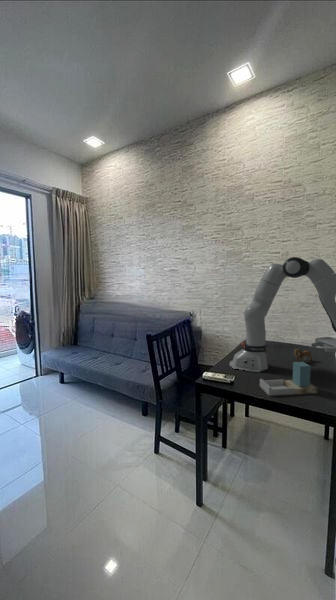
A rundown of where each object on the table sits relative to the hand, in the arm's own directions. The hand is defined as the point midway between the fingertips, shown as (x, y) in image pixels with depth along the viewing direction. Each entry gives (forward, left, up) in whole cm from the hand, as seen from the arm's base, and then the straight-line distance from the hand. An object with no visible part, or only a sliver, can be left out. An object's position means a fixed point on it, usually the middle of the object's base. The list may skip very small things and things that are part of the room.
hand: (318, 347), depth 121 cm
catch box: (-20, -5, -20) cm, 29 cm away
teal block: (-8, -2, -18) cm, 19 cm away
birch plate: (-8, -2, -20) cm, 22 cm away
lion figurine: (+6, +39, -21) cm, 44 cm away
